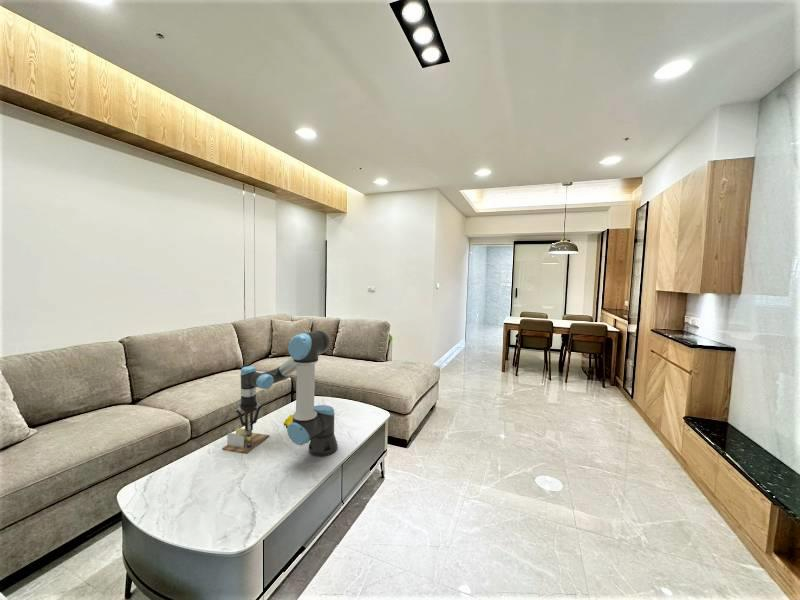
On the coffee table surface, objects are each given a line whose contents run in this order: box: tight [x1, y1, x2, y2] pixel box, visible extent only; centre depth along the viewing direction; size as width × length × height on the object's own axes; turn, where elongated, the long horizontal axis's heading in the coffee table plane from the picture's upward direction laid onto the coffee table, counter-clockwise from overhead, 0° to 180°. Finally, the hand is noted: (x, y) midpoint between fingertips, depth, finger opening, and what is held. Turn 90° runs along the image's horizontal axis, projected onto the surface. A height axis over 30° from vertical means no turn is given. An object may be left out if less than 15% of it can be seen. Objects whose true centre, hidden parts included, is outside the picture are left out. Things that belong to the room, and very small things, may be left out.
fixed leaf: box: [226, 430, 253, 449], centre depth 175 cm, size 12×4×9 cm, turn 77°
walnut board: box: [221, 432, 270, 454], centre depth 180 cm, size 15×19×1 cm
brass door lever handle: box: [235, 427, 253, 443], centre depth 177 cm, size 12×4×7 cm, turn 71°
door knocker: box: [283, 414, 293, 428], centre depth 207 cm, size 17×16×4 cm
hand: (249, 436), depth 181 cm, fingers closed
